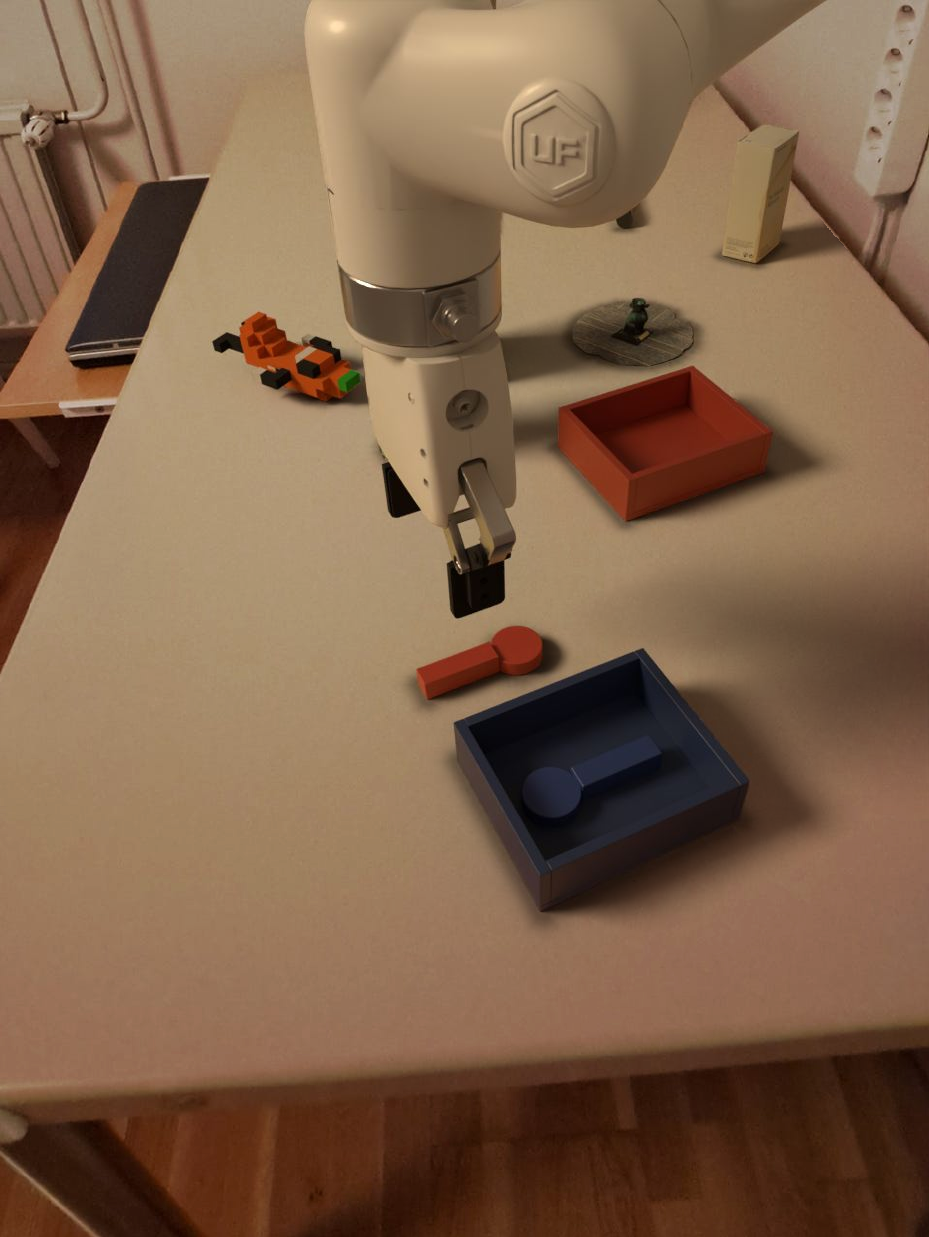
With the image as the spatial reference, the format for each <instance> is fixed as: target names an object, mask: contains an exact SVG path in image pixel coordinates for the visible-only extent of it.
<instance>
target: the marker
mask: <svg viewBox="0 0 929 1237" xmlns="http://www.w3.org/2000/svg"><path fill="white" fill-rule="evenodd" d="M615 221H616V225H617V226H618V227H619V228H620V229H626V228H627V229H628V228H629V227H630V226H631V225H632V223H633V222H634V216H633V211H632V209H631V210H630V211H629V212H627V213H626V214H624V215H623V216H621V217H619V218H617V219H615Z"/></svg>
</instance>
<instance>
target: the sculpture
mask: <svg viewBox="0 0 929 1237" xmlns="http://www.w3.org/2000/svg"><path fill="white" fill-rule="evenodd" d="M693 335H694V330H693V327H692V326H691V324H689V323H688V322H685V321H683V320H681V319H679V318H676V313H675V312H674V311H673V310H670V309H668V308H666V307H663V306H660V305H658V304H654V303H653V302H647V301H646V299H645V298H643V297H634V298H632V300H631V302H626V301H624V302H623V301H617V302H613V303H611V304H606V305H602V306H599V307H598V308H595V309H592V310H590V311H588V312H586V313H585V314H583V315H582V316H581V317H580V318H579V319H577V321H576V322H575V325H574V327H573V329H572V335H571V337H572V342H573V343H574V344H575V345H576V346H577V347H578V348H579V349H581V350H582V351H583V352H584V353H586V354H589V355H598V356H600V357H601V358H603V359H605V360H606V361H609V362H612V363H615V364H620V365H621V366H643V367H646V366H647V367H652V366H653V365H659V364H662V363H665V362H668V361H670V360H673V359H675V358H677V357H679V356H681V355H682V353H683V352H684V350H686V349H688V348H690V347H691V346H692V343H693V342H694V340H693V337H694V336H693Z"/></svg>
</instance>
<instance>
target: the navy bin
mask: <svg viewBox="0 0 929 1237" xmlns="http://www.w3.org/2000/svg"><path fill="white" fill-rule="evenodd" d="M453 733H454V741H455V750H456V760H457V761H456V762H457V764H458V765H459V767H460V769H461V771H462V773H463V775H464V776H465V778H466V780H467V781H468V783H469V786H470V787H471V789H472V791H473V792H474V795H475V796H476V798H477V800H478V801H479V804H480V805H481V807H482V809H483V811H484V813H485V815H486V816H487V818H488V820H489V822H490V824H491V825H492V827H493V830H494V831H495V834H497V837H498V838H499V840H500V842H501V844H502V845H503V847H504V849H505V851H506V853H507V854H508V857H509V858H510V860H511V862H512V864H513V866H514V867H515V870H516V871H517V874H518V875H519V877H520V878H521V880H522V882H523V884H524V886H525V888H526V889H527V891H528V893H529V895H530V897H531V899H532V900H533V902H534V904H535V906H536V907H537V909H538V911H539V912H542V911H544V910H546V909H549V908H551V907H553V906H556V905H558V904H559V903H560V904H561V903H562V902H564V901H566V900H568V899H571V898H572V897H575V896H577V895H579V894H581V893H583V892H585V891H589V889H593V888H594V887H597V886H599V885H601V884H603V883H605V882H607V881H609V880H612V879H614V878H616V877H618V876H620V875H624V873H627V872H629V871H631V870H634V869H636V868H638V867H640V866H642V865H645V864H647V863H649V862H651V861H653V860H656V859H657V858H660V857H661V856H663V855H665V854H668V853H670V852H673V851H674V850H677V849H680V848H681V847H683V846H685V845H687V844H689V843H692V842H694V841H696V840H699V839H700V838H703V837H704V836H707V835H709V834H711V833H714V832H716V831H718V830H720V829H723V828H724V827H727V826H729V825H732V824H733V823H735V822H737V821H740V819H741V816H742V813H743V812H742V811H743V808H744V805H745V801H746V798H747V794H748V790H749V788H750V784H751V780H750V779H749V777H748V776H747V774H745V773H744V771H743V769H741V767H740V766H739V765H738V763H737V762H736V761H735V760H734V758H732V756H731V755H730V754H729V752H728V751H727V750H726V748H724V746H723V745H722V743H720V741H719V740H718V739H717V738H716V736H715V734H713V733H712V731H711V730H710V729H709V727H708V726H707V725H706V724H705V722H704V721H703V720H702V719H701V718H700V716H699V715H698V714H697V713H696V711H695V710H694V709H693V707H691V705H690V704H689V703H688V702H687V700H686V699H685V697H684V696H683V695H682V694H681V693H680V691H679V690H678V689H677V688H676V686H674V684H673V683H672V682H671V680H670V679H669V678H668V677H667V676H666V674H665V673H664V671H662V670H661V668H660V667H659V666H658V665H657V663H656V661H655V660H653V658H652V657H651V656H650V654H649V652H647V651H646V650H645V648H644V647H641V648H638V649H635V650H633V651H631V652H628V653H625V654H623V655H621V656H617V657H615V658H613V659H611V660H608V661H605V662H603V663H600V664H597V665H595V666H592V667H590V668H588V669H585V670H583V671H580V672H578V673H574V674H572V675H570V676H567V677H565V678H562V679H560V680H557V681H555V682H553V683H550V684H547V685H544V686H542V687H540V688H537V689H534V690H532V691H529V692H527V693H524V694H522V695H520V696H519V695H518V696H517V697H514V698H512V699H509V700H507V701H504V702H502V703H499V704H497V705H494V706H491V707H489V708H486V709H484V710H482V711H479V712H476V713H474V714H471V715H469V716H466V717H464V718H462V719H459V720H456V721H453ZM646 735H650V737H651V738H652V740H653V741H654V742H655V744H656V745H657V746H658V748H659V749H660V750H661V752H662V759H661V765H660V768H658V769H656V770H653V771H651V772H649V773H646V774H644V775H642V776H639V777H637V778H635V779H632V780H630V781H628V782H625V783H623V784H621V785H618V786H616V787H614V788H612V789H609V790H607V791H605V792H602V793H600V794H598V795H595V796H593V797H591V798H588V799H586V800H584V801H582V800H581V808H580V811H579V813H578V815H577V816H576V817H575V819H573V820H572V821H571V822H570V823H568V824H566V825H564V826H561V827H555V828H549V827H543V826H540V825H538V824H536V823H534V822H533V821H531V820H530V819H529V818H528V817H527V816H526V814H525V813H524V811H523V808H522V804H521V788H522V784H523V782H524V780H525V779H526V777H527V776H528V775H529V774H530V773H532V772H533V771H535V770H537V769H540V768H543V767H558V768H562V769H564V770H567V771H568V772H570V773H571V767H572V766H575V765H577V764H580V763H582V762H584V761H587V760H589V759H591V758H594V757H596V756H599V755H601V754H603V753H606V752H608V751H611V750H613V749H615V748H618V747H620V746H622V745H625V744H627V743H630V742H632V741H634V740H637V739H639V738H642V737H644V736H646Z"/></svg>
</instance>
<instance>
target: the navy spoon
mask: <svg viewBox="0 0 929 1237" xmlns="http://www.w3.org/2000/svg"><path fill="white" fill-rule="evenodd" d="M661 759H662V752H661V750H660V749H659V748H658V746H657V745H656V744H655V742H654V741H653V740H652V738H651V737H650V735H646V736H644V737H642V738H639V739H637V740H634V741H632V742H630V743H627V744H625V745H622V746H620V747H618V748H615V749H613V750H611V751H608V752H606V753H603V754H601V755H599V756H596V757H594V758H591V759H589V760H587V761H584V762H582V763H580V764H577V765H575V766H572V767H571V773H570V772H568V771H567V770H564V769H562V768H558V767H543V768H540V769H537V770H535V771H533V772H532V773H530V774H529V775H528V776H527V777H526V779H525V780H524V782H523V784H522V788H521V804H522V808H523V811H524V813H525V814H526V816H527V817H528V818H529V819H530V820H531V821H533V822H534V823H536V824H538V825H540V826H543V827H549V828H555V827H561V826H564V825H566V824H568V823H570V822H571V821H572V820H573V819H575V817H576V816H577V815H578V813H579V811H580V808H581V800H582V801H584V800H586V799H588V798H591V797H593V796H595V795H598V794H600V793H602V792H605V791H607V790H609V789H612V788H614V787H616V786H618V785H621V784H623V783H625V782H628V781H630V780H632V779H635V778H637V777H639V776H642V775H644V774H646V773H649V772H651V771H653V770H656V769H658V768H660V765H661Z"/></svg>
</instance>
